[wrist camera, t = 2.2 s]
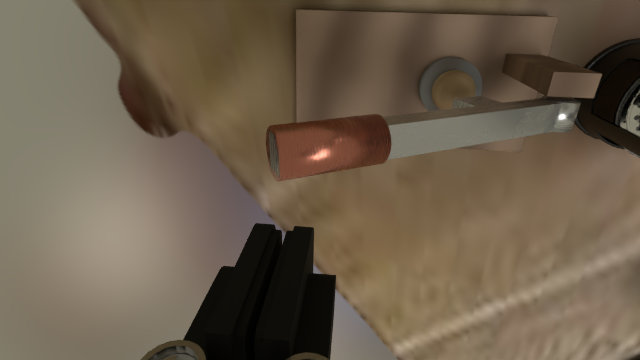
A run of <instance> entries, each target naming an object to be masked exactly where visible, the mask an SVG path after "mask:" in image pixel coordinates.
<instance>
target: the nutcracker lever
mask: <svg viewBox="0 0 640 360" xmlns="http://www.w3.org/2000/svg"><path fill="white" fill-rule="evenodd" d="M580 105H581V101H580V100H577V99H574V98H569V97H553V96H542V98H539V99H531V100H522V101H513V102H505V103H502V102H499V101H495V100H492V99H489V98H485V97H482V96H475V97H465V98H455V99H454V100H453V106H452V109H445V110H436V111H428V112H419V113H410V114H402V115H393V116H385V117H382V116H381V115H379V114H369V115H360V116H351V117H342V118H334V119H325V120H316V121H307V122H298V123H289V124H280V125H271V126H269V127H268V129H267V133H266V150H267V157H268V162H269V166H270V169H271V172H272V174H273V176H274V178H275V179H276V180H277V181H284V180H290V179H295V178H301V177H307V176H313V175H319V174H324V173H330V172H336V171H342V170H348V169H353V168H359V167H365V166H371V165H377V164H382V163H384V162H385V161H386V160H388V159H394V158H400V157H406V156H412V155H418V154H424V153H430V152H436V151H442V150H448V149H453V148H459V147H465V146H471V145H477V144H483V143H489V142H495V141H501V140H507V139H513V138H519V137H525V136H530V135H536V134H542V133H548V132H571V131H572V129H573V126H574V123H575V120H576V117H577V114H578V111H579V108H580Z"/></svg>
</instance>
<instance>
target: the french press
mask: <svg viewBox="0 0 640 360" xmlns="http://www.w3.org/2000/svg"><path fill="white" fill-rule="evenodd" d="M629 59H630V60H635V61H639V62H640V38H639V39H633V40H627V41H624V42H621V43H618V44H616V45H614V46H612V47H610V48H608V49H606V50H604V51H603V52H601V53H600V54H599V55H597V56H596V57H594V58H593V59H592V60H591V61H590V62H589V63H588V64H587V65H586V66H585V69H589V70H592V71H595V72H598V73H601V74H602V76H601V79H600V82H599V85H598V87H597V90H596V93H595V96H594V98H576V97H570V98H574V99H577V100H580V101H581V105H580V108H579V111H578V114H577V117H576V120H575V124H576V125H577V126H578V128H579V129H580V130H582V131H583V132H584V133H585V134H587V135H589V136H591V137H593V138H595V139H600V140H602V141H604V142H605V143H607V144H609V145H611V146H613V147H617V148H621V149H626V150H627V151H628V152H629V153H631V154H633V155H635V156H637V157H639V158H640V76H639V77H638V78H636V79H635V80H634V81H633V82H632V83H631V85H630V86H629V87H628V88H627V89H626V91H625V92H624V94H623V95H622V97H621V99H620V100H619V102H618V105H617V107H616V110H615V113H614V118H613V123H612V122H610V121H608V120H606V119H604V118H602V117H600V116H598V115H596V114H594V113H593V108H594V102H595V99H596V96H597V94H598V92H599V90H600V88H601V86H602V85H603V83H604V82H605V81H606V79H607V78H608V77H609V76H610V74H612V73H613V72H614V71H615V70H616V69H617V68H618V67H619V66H620V65H622V64H623V63H625V62H626V61H628V60H629Z"/></svg>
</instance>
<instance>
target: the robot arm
mask: <svg viewBox="0 0 640 360" xmlns="http://www.w3.org/2000/svg"><path fill="white" fill-rule="evenodd" d="M313 251H314V228H313V227H299V226H295V227H294V230H293V231H287V232H286V235H285V239H284V241H283V245H282V231H281V230H276V229H275V225H271V224H258V223H256V224H255V225H254V227H253V229H252V231H251V233H250V235H249V237H248V239H247V242H246V244H245V246H244V248H243V250H242V253H241V254H240V257H239V259H238V261H237V263H236V265H235V267H230V266H223V267H221V269H220V270H219V272H218V274H217V276H216V278H215V280H214V282H213V284H212V286H211V287H210V289H209V291H208V293H207V295H206V297H205V299H204V301H203V303H202V305H201V307H200V309H199V311H198V313H197V315H196V316H195V318H194V320H193V322H192V324H191V326H190V328H189V330H188V332H187V334H186V336H185V338H184V339H183V340H176V341H169V342H166V343H164V344H161V345H159V346H157V347H155V348H154V349H152V350H151V351H149V352H148V353H147V354H146V355H145V356H144V357H143V358H142V359H141V360H330V354H331V342H332V330H333V317H334V301H335V285H336V275H326V274H314V273H313Z"/></svg>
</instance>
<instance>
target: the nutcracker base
mask: <svg viewBox="0 0 640 360" xmlns="http://www.w3.org/2000/svg"><path fill="white" fill-rule="evenodd" d="M558 18H559V17H552V16H527V15H492V14H456V13H421V12H385V11H349V10H314V9H297V10H296V123H298V122H307V121H316V120H325V119H334V118H342V117H351V116H360V115H369V114H379V115H381V116H382V117H385V116H393V115H402V114H410V113H419V112H428V111H436V110H445V109H452V106H453V100H454V99H455V98H465V97H475V96H482V97H485V98H489V99H492V100H495V101H499V102H502V103H505V102H513V101H522V100H531V99H536V97H537V94H538V92H540V93H542V94H544V95H546V96H553V97H576V98H594V96H595V93H596V90H597V87H598V85H599V82H600V79H601V76H602V74H601V73H598V72H595V71H592V70H589V69H585V68H582V67H579V66H576V65H573V64H570V63H567V62H563V61H560V60H557V59H554V58H551V57H548V54H549V51H550V47H551V43H552V40H553V36H554V33H555V29H556V26H557V22H558ZM524 140H525V137H519V138H513V139H507V140H501V141H495V142H489V143H483V144H477V145H471V146H465V147H459V149H477V150H495V151H512V152H521V151H522V147H523V144H524Z"/></svg>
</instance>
